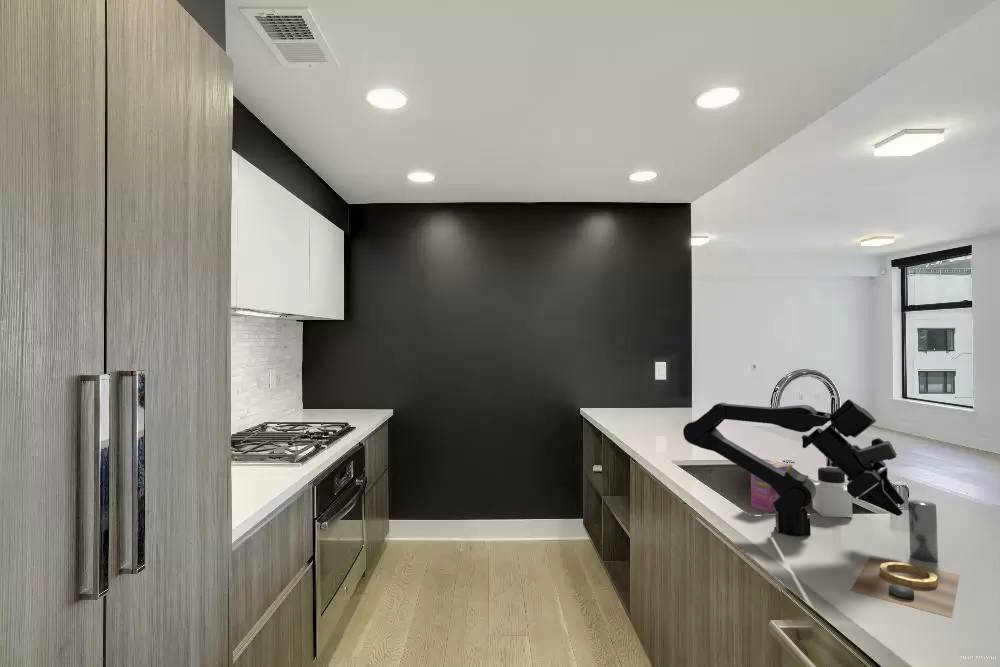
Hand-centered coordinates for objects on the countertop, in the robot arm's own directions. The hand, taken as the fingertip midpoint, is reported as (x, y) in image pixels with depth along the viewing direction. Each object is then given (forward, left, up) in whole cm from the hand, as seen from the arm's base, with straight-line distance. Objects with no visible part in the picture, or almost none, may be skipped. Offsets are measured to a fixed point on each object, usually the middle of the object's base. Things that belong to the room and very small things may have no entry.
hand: (901, 508), depth 111 cm
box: (-19, +30, -10) cm, 37 cm away
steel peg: (+3, -1, -10) cm, 11 cm away
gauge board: (-5, -15, -10) cm, 19 cm away
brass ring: (-4, -13, -9) cm, 17 cm away
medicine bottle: (-5, +28, -10) cm, 31 cm away
